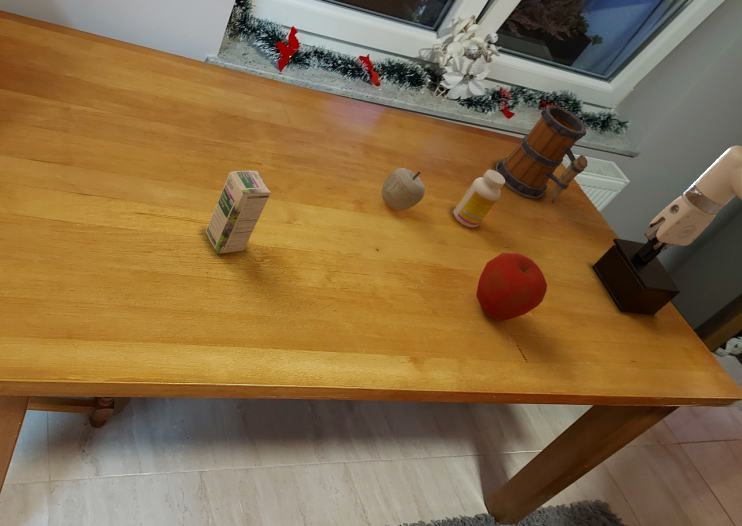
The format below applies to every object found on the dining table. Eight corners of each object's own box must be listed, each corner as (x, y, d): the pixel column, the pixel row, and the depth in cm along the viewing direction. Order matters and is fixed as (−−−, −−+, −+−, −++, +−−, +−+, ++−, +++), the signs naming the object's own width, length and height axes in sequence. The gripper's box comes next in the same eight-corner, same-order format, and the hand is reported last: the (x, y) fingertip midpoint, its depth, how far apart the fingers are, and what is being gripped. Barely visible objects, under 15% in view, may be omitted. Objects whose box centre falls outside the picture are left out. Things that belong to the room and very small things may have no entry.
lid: (612, 240, 158) (614, 237, 157) (645, 245, 162) (647, 243, 161) (644, 289, 149) (646, 286, 148) (678, 293, 153) (681, 291, 152)
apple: (451, 299, 135) (491, 251, 125) (479, 279, 143) (518, 232, 134) (500, 344, 131) (544, 297, 121) (525, 320, 139) (569, 274, 130)
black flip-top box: (591, 266, 163) (613, 244, 158) (623, 271, 167) (646, 250, 162) (620, 311, 154) (644, 289, 149) (653, 315, 158) (678, 294, 153)
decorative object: (368, 200, 148) (389, 165, 141) (386, 186, 154) (406, 152, 148) (401, 225, 146) (424, 190, 139) (417, 209, 152) (439, 176, 146)
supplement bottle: (481, 231, 156) (513, 189, 147) (456, 225, 154) (488, 183, 145) (473, 211, 160) (504, 170, 152) (449, 205, 158) (478, 163, 150)
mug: (565, 211, 177) (617, 151, 164) (529, 213, 169) (580, 151, 156) (520, 161, 187) (566, 102, 174) (484, 161, 180) (529, 99, 167)
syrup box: (203, 231, 122) (227, 170, 113) (232, 228, 126) (258, 169, 116) (216, 254, 119) (242, 194, 110) (245, 251, 123) (272, 192, 113)
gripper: (689, 206, 139) (627, 266, 151) (738, 216, 144) (674, 273, 156) (669, 182, 144) (610, 241, 156) (717, 192, 149) (657, 249, 161)
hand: (643, 257), depth 156 cm, fingers closed
